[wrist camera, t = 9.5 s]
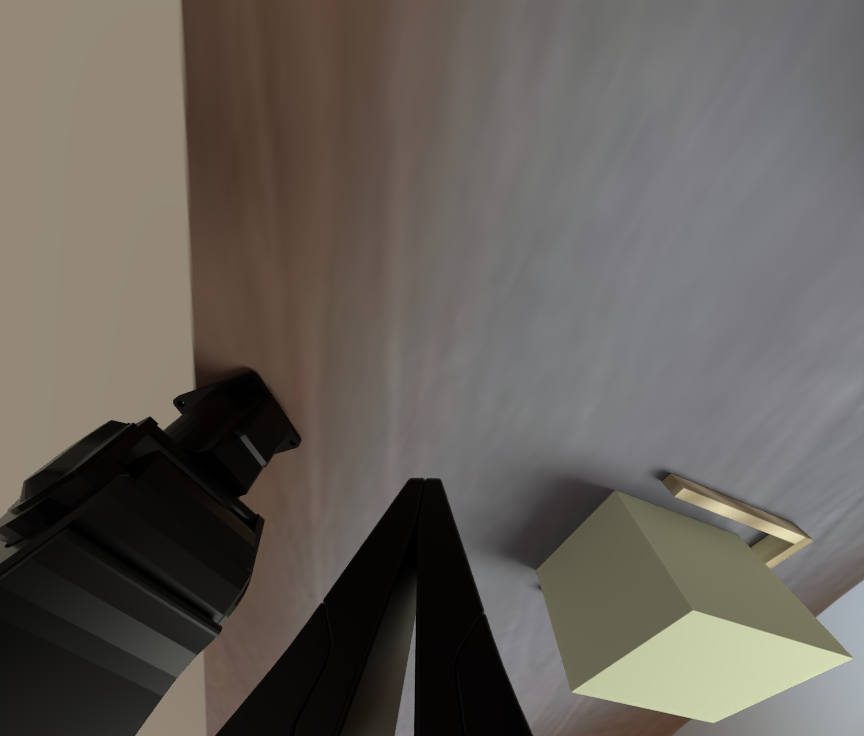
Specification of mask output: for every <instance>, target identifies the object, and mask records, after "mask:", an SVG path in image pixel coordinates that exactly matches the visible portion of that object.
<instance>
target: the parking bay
mask: <svg viewBox="0 0 864 736" xmlns="http://www.w3.org/2000/svg"><path fill="white" fill-rule="evenodd" d="M662 483H663V484H664V485H665V486H666V487H667V488H668V490H669V491H670V492H671V493H672V494H673V496H674V497H677V498H679V499H682V500H684V501H687V502H689V503H692V504H694V505H697V506H700V507H702V508H705V509H707V510H710V511H712V512H715V513H717V514H720V515H722V516H725V517H728V518H730V519H733V520H735V521H738V522H740V523H743V524H745V525H748V526H751V527H753V528H756V529H758V530H761V531H763V532H766V533H768V534H769V535H768V536H766V537H765V538H763V539H762V540H761V541H759V542H758V543H756V544H755V545H753V546H752V547H751V549H752V550H753V551H754V552H755V554H756V555H757V556H758V557H759V558H760V559H761V560H762V561H763V562H764V563H765V564H766V565H767V566H768V567H769V568H772V567H773V566H775V565H777V564H778V563H780V562H781V561H783V560H784V559H786V558H787V557H789V556H791V555H792V554H794V553H795V552H797V551H798V550H800V549H801V548H803V547H804V546H806V545H808V544H809V543H811V542H812V541H814V540H813V539H812V538H811V537H809V536H808V535H807V534H806V533H805V532H804V531H803V530H801V529H800V528H799V527H798V526H797V525H796V524H793V523H791V522H788V521H786V520H783V519H781V518H779V517H776V516H774V515H771V514H769V513H766V512H764V511H761V510H759V509H757V508H754V507H752V506H749V505H747V504H744V503H742V502H739V501H737V500H735V499H732V498H730V497H727V496H725V495H722V494H720V493H717V492H715V491H713V490H710V489H708V488H705V487H703V486H700V485H698V484H695V483H693V482H691V481H688V480H686V479H683V478H681V477H678V476H676V475H673V474H669V475H668V476H667V477H666V478H665V479H664V480H663V481H662Z"/></svg>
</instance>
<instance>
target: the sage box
mask: <svg viewBox="0 0 864 736" xmlns="http://www.w3.org/2000/svg"><path fill="white" fill-rule="evenodd" d="M536 571H537V575H538V578H539V582H540V585H541V589H542V592H543V595H544V599H545V602H546V606H547V609H548V613H549V616H550V620H551V623H552V627H553V630H554V634H555V637H556V641H557V644H558V648H559V651H560V655H561V658H562V662H563V665H564V669H565V672H566V676H567V679H568V683H569V686H570V689H571V692H573V693H578V694H582V695H587V696H592V697H596V698H601V699H605V700H610V701H615V702H619V703H624V704H629V705H633V706H638V707H642V708H647V709H652V710H656V711H661V712H665V713H670V714H675V715H679V716H684V717H688V718H693V719H698V720H702V721H707V722H711V723H714V722H717V721H719V720H721V719H723V718H725V717H727V716H730V715H732V714H734V713H736V712H738V711H741V710H743V709H745V708H747V707H749V706H751V705H754V704H756V703H758V702H760V701H762V700H764V699H766V698H768V697H771V696H773V695H775V694H777V693H779V692H781V691H784V690H786V689H788V688H790V687H792V686H795V685H797V684H799V683H801V682H803V681H806V680H808V679H810V678H812V677H814V676H816V675H819V674H821V673H823V672H825V671H827V670H829V669H832V668H834V667H836V666H838V665H840V664H842V663H845V662H847V661H849V660H851V659H853V657H852V656H851V655H850V654H849V653H848V652H847V651H846V650H845V649H844V648H843V646H842V645H841V644H840V643H839V642H838V641H837V640H836V639H835V638H834V637H833V636H832V635H831V634H830V633H829V631H828V630H827V629H826V628H825V627H824V626H823V625H822V624H821V623H820V622H819V621H818V620H817V619H816V618H815V617H814V615H813V614H812V613H811V612H810V611H809V610H808V609H807V608H806V607H805V606H804V605H803V604H802V603H801V602H800V600H799V599H798V598H797V597H796V596H795V595H794V594H793V593H792V592H791V591H790V590H789V589H788V588H787V587H786V586H785V584H784V583H783V582H782V581H781V580H780V579H779V578H778V577H777V576H776V575H775V574H774V573H773V572H772V571H771V570H770V568H769V567H768V566H767V565H766V564H765V563H764V562H763V561H762V560H761V559H760V558H759V557H758V556H757V555H756V554H755V552H754V551H753V550H752V549H751V548H750V547H749V546H748V545H747V544H746V543H745V542H744V541H743V540H742V539H741V537H740V536H738V535H736V534H733V533H730V532H727V531H725V530H722V529H719V528H717V527H714V526H711V525H708V524H706V523H703V522H700V521H698V520H695V519H692V518H689V517H687V516H684V515H681V514H679V513H676V512H673V511H670V510H668V509H665V508H662V507H660V506H657V505H654V504H651V503H649V502H646V501H643V500H641V499H638V498H635V497H632V496H630V495H627V494H624V493H622V492H619V491H616V490H615V491H614V492H613V493H612V494H611V495H610V496H609V497H608V498H607V499H606V500H605V501H604V502H603V503H602V504H601V505H600V506H599V507H598V508H597V509H596V510H595V511H594V512H593V513H592V514H591V515H590V516H589V517H588V518H587V519H586V520H585V521H584V522H583V523H582V524H581V525H580V526H579V527H578V528H577V529H576V530H575V531H574V532H573V533H572V534H571V535H570V536H569V537H568V538H567V539H566V540H565V541H564V542H563V543H562V544H561V546H560V547H559V548H558V549H557V550H556V551H555V552H554V553H553V554H552V555H551V556H550V557H549V558H548V559H547V560H546V561H545V562H544V563H543V564H542V565H541V566H540V567H539V568H538V569H537V570H536Z"/></svg>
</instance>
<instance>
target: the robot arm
mask: <svg viewBox="0 0 864 736" xmlns="http://www.w3.org/2000/svg"><path fill="white" fill-rule="evenodd" d="M249 378H252V379H253V381H251V380H250V379H249ZM182 402H184V403H182ZM173 404H174V405H175V407H176V408H177V409H178V410H179V411H180V413H181V414H182V416H180V417H179V418H178V419H177V420H176V421H174V422H173V423H172V424H171V425H169V426H168V427H167V428H166V429H165V430H161V429H160V428H159V427H158V426H157V425H158V423H157V422H156V421H155V420H154V419H153V418H151V417H148V418H146V419H144V420H142V421H140V422H138V423H136V424H135V423H131V424H130V423H128V424H126V423H122V422H117V421H113V420H111V421H109V422H107V423H106V424H104V425H102V426H100V427H99V428H97V429H96V430H94V431H93V432H91V433H90V434H88V435H87V436H85V437H84V438H82V439H81V440H79V441H78V442H76V443H75V444H73V445H72V446H70V447H69V448H68V449H66V450H65V451H63V452H62V453H61V454H59V455H58V456H56V457H55V458H54V459H52V460H51V461H50V462H49V463H47V464H46V465H45V466H43V467H42V468H41V469H39V470H38V471H37V472H35V473H34V474H33V475H31V476H30V477H29V478H27V479H26V480H25V481H24V483H23V487H22V491H21V496H20V499H19V500H17V501H16V502H15V503H14V504H13V505H12V506H11V507H10V508H9V509H8V512H7V513H6V514H5V515H4V516H3V517H2V518H1V519H0V736H135V735H136V734H137V732H138V731H139V729H140V728H141V727H142V725H143V724H144V722H145V721H146V719H147V718H148V717H149V715H150V714H151V713H152V711H153V710H154V708H155V707H156V706H157V704H158V703H159V702H160V700H161V699H162V697H163V696H164V694H165V693H166V692H167V691H168V689H169V688H170V687H171V685H172V684H173V683H174V682H175V680H176V679H177V678H178V676H179V675H180V674H181V673H182V672H183V671H184V670H185V669H186V667H187V666H188V665H189V664H190V663H191V662H192V661H193V659H194V658H195V657H196V656H197V655H198V654H199V653H200V652H201V651H202V650H203V649H204V648H205V647H206V646H208V645H209V644H210V643H211V642H212V641H213V640H214V639H215V638H216V637H217V636H218V635H219V634H220V632H221V630H222V626H221V625H222V624H223V623H224V622H225V621H226V620H227V619H228V618H229V616H230V615H231V614H232V612H233V611H234V610H235V608H236V607H237V605H238V604H239V602H240V601H241V599H242V597H243V596H244V594H245V592H246V590H247V588H248V585H249V582H250V579H251V576H252V572H253V567H254V563H255V559H256V555H257V551H258V546H259V542H260V538H261V534H262V530H263V526H264V521H265V520H264V519H263V518H262V517H261V516H260V515H259V514H255V513H254V512H253V511H252V510H251V509H249V508H248V507H247V506H246V505H245V504H244V503H243V502H242V501H241V500H239V498H240V496H242V495H245V494H247V492H248V491H249V489H250V488H251V486H252V485H253V483H254V482H255V480H256V479H257V477H258V475H259V474H260V472H261V471H262V469H263V468H264V467H266V466H267V465H268V463H269V462H270V460H271V459H272V457H273V455H274V454H277V453H280V452H284V451H287V450H291V449H294V448H297V447H298V446H299V445H300V443H301V437H300V436H299V434H298V433H297V431H296V430H295V429H294V427H293V426H292V424H291V422H290V421H289V419H288V418H287V416H286V415H285V413H284V412H283V410H282V409H281V407H280V406H279V404H278V403H277V401H276V400H275V398H274V397H273V396H272V394H271V393H270V391H269V390H268V388H267V387H266V385H265V384H264V382H263V381H262V379H261V378H260V376H259V375H258V374H257V373H255V372H247V373H244V374H241V375H238V376H235V377H232V378H229V379H226V380H223V381H220V382H217V383H214V384H211V385H208V386H205V387H202V388H199V389H196V390H193V391H191V392H188V393H185V394H182V395H179V396H178V397H176V398H175V399H174V400H173ZM292 440H294V441H295V442H293V441H292ZM323 603H324V604H323ZM323 603H321V604H320V605H319V606H318V608H317V609H316V611H315V612H314V613H313V615H312V616H311V618H310V619H309V620H308V622H307V623H306V625H305V626H304V627H303V629H302V630H301V631H300V633H299V634H298V635H297V637H296V638H295V639H294V641H293V642H292V643H291V645H290V646H289V647H288V649H287V650H286V651H285V652H284V654H283V655H282V656H281V657H280V659H279V660H278V661H277V662H276V663H275V665H274V666H273V667H272V668H271V670H270V671H269V672H268V673H267V675H266V676H265V677H264V678H263V679H262V681H261V682H260V683H259V684H258V685H257V687H256V688H255V689H254V690H253V691H252V693H251V694H250V695H249V696H248V697H247V698H246V700H245V701H244V702H243V703H242V704H241V706H240V707H239V708H238V709H237V710H236V712H235V713H234V714H233V715H232V716H231V718H230V719H229V720H228V721H227V722H226V723H225V725H224V726H223V727H222V728H221V729H220V731H219V732H218V733H217V734H216V735H215V736H394V735H395V729H396V724H397V718H398V712H399V707H400V701H401V695H402V690H403V684H404V678H405V672H406V667H407V661H408V655H409V650H410V644H411V638H412V633H413V627H414V621H415V616H416V649H415V715H414V736H533V734H532V731H531V729H530V727H529V725H528V722H527V720H526V718H525V716H524V713H523V711H522V709H521V707H520V704H519V702H518V700H517V697H516V695H515V692H514V690H513V688H512V685H511V683H510V681H509V678H508V676H507V673H506V671H505V668H504V666H503V663H502V660H501V658H500V655H499V652H498V649H497V646H496V644H495V641H494V638H493V635H492V632H491V629H490V626H489V623H488V620H487V617H486V615H485V614H484V608H483V605H482V602H481V599H480V596H479V593H478V590H477V587H476V584H475V581H474V578H473V575H472V572H471V569H470V566H469V563H468V560H467V557H466V553H465V550H464V547H463V544H462V541H461V538H460V535H459V532H458V529H457V526H456V523H455V520H454V517H453V514H452V511H451V508H450V505H449V502H448V499H447V496H446V493H445V490H444V487H443V484H442V481H441V479H439V478H427V479H426V480H425V479H424V478H410V479H409V480H408V481H407V483H406V484H405V485H404V487H403V488H402V490H401V491H400V492H399V494H398V495H397V497H396V498H395V499H394V501H393V502H392V504H391V505H390V507H389V508H388V509H387V511H386V512H385V514H384V515H383V516H382V518H381V519H380V521H379V522H378V523H377V525H376V526H375V528H374V529H373V530H372V532H371V533H370V535H369V536H368V538H367V539H366V540H365V542H364V543H363V545H362V546H361V547H360V549H359V550H358V552H357V553H356V554H355V556H354V557H353V559H352V560H351V561H350V563H349V564H348V566H347V567H346V569H345V570H344V571H343V573H342V574H341V576H340V577H339V578H338V580H337V581H336V583H335V584H334V585H333V587H332V588H331V590H330V591H329V593H328V594H327V595H326V597H325V598H324V600H323Z"/></svg>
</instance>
